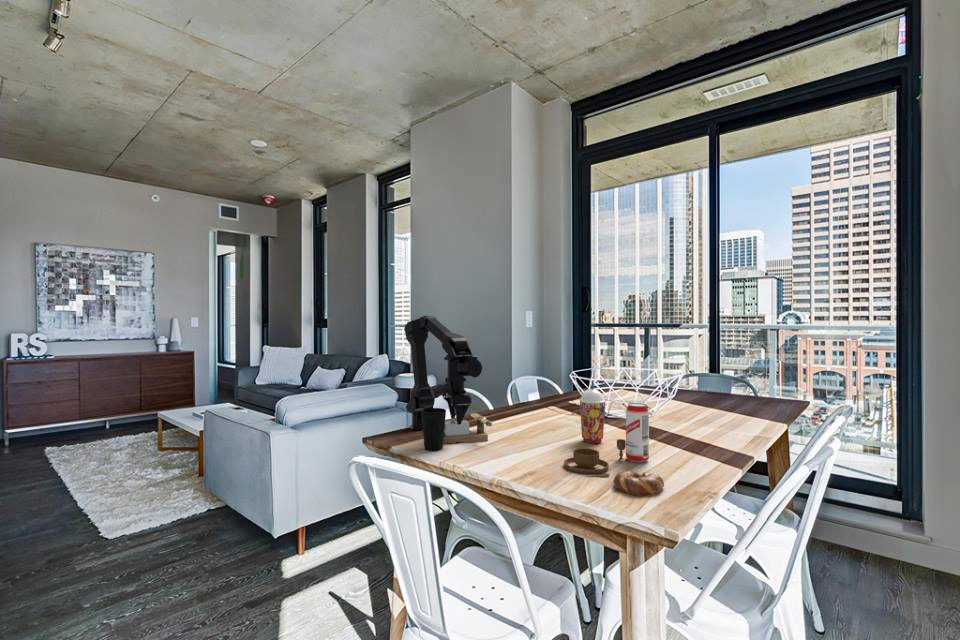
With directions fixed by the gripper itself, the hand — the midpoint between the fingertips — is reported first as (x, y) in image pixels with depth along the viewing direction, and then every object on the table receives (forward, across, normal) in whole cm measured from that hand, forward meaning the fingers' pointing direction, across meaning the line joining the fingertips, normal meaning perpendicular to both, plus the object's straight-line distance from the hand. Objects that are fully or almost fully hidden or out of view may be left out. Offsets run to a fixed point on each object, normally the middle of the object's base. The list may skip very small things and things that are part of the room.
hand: (455, 421), depth 158 cm
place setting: (+7, +38, +32) cm, 50 cm away
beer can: (+6, +36, +45) cm, 58 cm away
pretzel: (+7, +55, +32) cm, 64 cm away
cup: (+6, +8, -9) cm, 14 cm away
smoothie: (+6, +14, +43) cm, 46 cm away
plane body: (+6, 0, +2) cm, 6 cm away
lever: (0, +1, +9) cm, 9 cm away
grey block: (+4, 0, 0) cm, 4 cm away
